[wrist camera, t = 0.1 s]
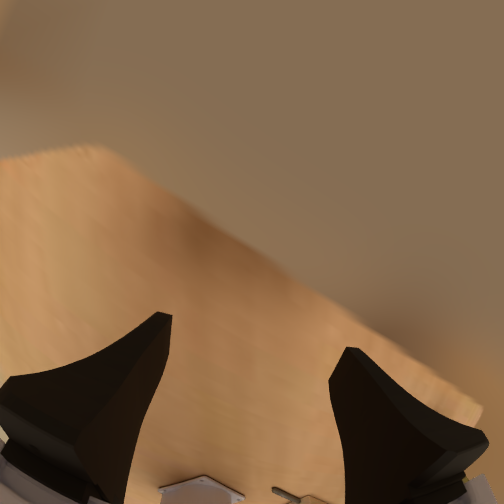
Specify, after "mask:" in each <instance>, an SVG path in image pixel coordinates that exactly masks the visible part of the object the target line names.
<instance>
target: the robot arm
mask: <svg viewBox="0 0 504 504" xmlns="http://www.w3.org/2000/svg"><path fill="white" fill-rule="evenodd" d="M171 325H172V315H170V314H166V313H162V312H156V313H154V314H153V315H152V316H151V317H149V318H148V319H147V320H146V321H144V322H143V323H142V324H140V325H139V326H138V327H136V328H135V329H134V330H132V331H131V332H129V333H128V334H127V335H125V336H124V337H122V338H121V339H119V340H118V341H116V342H114V343H113V344H111V345H110V346H108V347H106V348H104V349H103V350H101V351H99V352H97V353H95V354H93V355H91V356H89V357H87V358H84V359H82V360H79V361H76V362H74V363H71V364H68V365H66V366H62V367H59V368H56V369H52V370H48V371H43V372H39V373H33V374H26V375H18V376H10V377H9V378H8V380H7V381H6V382H5V383H4V384H3V386H2V387H1V388H0V426H1V427H2V428H3V430H4V431H5V433H6V434H7V436H8V437H9V439H8V441H7V442H6V444H5V443H4V442H3V441H2V440H1V439H0V504H124V498H125V492H126V486H127V481H128V476H129V472H130V467H131V463H132V459H133V454H134V451H135V447H136V443H137V439H138V435H139V432H140V428H141V425H142V422H143V419H144V417H145V414H146V412H147V409H148V407H149V405H150V403H151V400H152V398H153V396H154V393H155V391H156V389H157V387H158V384H159V382H160V380H161V377H162V375H163V372H164V369H165V365H166V362H167V359H168V355H169V347H170V335H171ZM328 382H329V392H330V400H331V404H332V408H333V412H334V416H335V420H336V424H337V427H338V431H339V435H340V439H341V444H342V449H343V458H344V468H345V504H498V503H497V501H496V499H495V496H494V494H493V492H492V490H491V487H490V485H489V483H488V481H487V479H486V477H485V475H484V474H481V475H479V476H477V477H475V478H473V479H471V480H469V481H468V482H466V483H465V484H464V483H463V481H462V479H464V478H465V477H466V474H465V472H464V470H465V469H466V468H468V467H469V466H470V465H471V464H472V463H473V462H474V461H476V460H477V459H478V458H479V457H480V456H481V455H482V454H483V453H484V452H485V450H486V449H487V448H488V446H489V441H488V439H487V437H486V436H485V434H484V433H483V431H481V430H479V429H476V428H472V427H469V426H466V425H463V424H461V423H458V422H456V421H454V420H451V419H449V418H447V417H445V416H443V415H441V414H439V413H438V412H436V411H434V410H432V409H431V408H429V407H427V406H426V405H424V404H423V403H422V402H420V401H419V400H417V399H416V398H414V397H413V396H412V395H411V394H409V393H408V392H407V391H406V390H404V389H403V388H402V387H401V386H400V385H398V384H397V383H396V382H395V381H394V380H393V379H392V378H391V377H390V376H388V375H387V374H386V373H385V372H384V371H383V370H382V369H381V368H380V367H379V366H378V365H377V364H376V363H375V362H374V361H373V360H372V359H371V358H370V357H368V356H367V355H366V354H365V353H364V352H363V351H362V350H360V349H359V348H354V347H346V348H345V350H344V352H343V354H342V356H341V358H340V360H339V362H338V364H337V365H336V367H335V369H334V371H333V373H332V375H331V377H330V378H329V380H328ZM158 492H160V493H161V494H162V498H161V502H160V504H232V503H235V502H239V501H242V500H245V496H243V495H241V494H239V493H237V492H235V491H233V490H231V489H229V488H227V487H225V486H223V485H221V484H220V483H218V482H216V481H214V480H212V479H211V478H209V477H207V476H201V477H198V478H195V479H192V480H189V481H185V482H182V483H178V484H175V485H171V486H167V487H163V488H159V489H158Z"/></svg>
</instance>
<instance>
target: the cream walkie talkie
mask: <svg viewBox="0 0 504 504" xmlns="http://www.w3.org/2000/svg"><path fill="white" fill-rule="evenodd" d="M272 492H273V493H275V494H277V495H279V496H281V497H284V498H286V499H288V500H290V501H293V502H291V503H288V504H327V503H325V502H322V501H320V500H318V499H316V498H313V497H311V496H306V497H304V498H301V499H298V498H296V497H294V496H291V495H289V494H287V493H285V492H283V491H281V490H279V489H277V488H273V489H272Z"/></svg>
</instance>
